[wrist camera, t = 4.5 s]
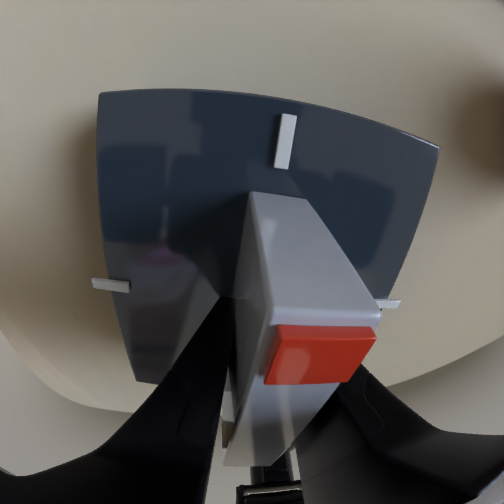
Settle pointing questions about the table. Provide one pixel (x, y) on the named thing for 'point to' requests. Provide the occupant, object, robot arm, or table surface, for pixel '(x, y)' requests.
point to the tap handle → (289, 328)
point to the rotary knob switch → (237, 200)
